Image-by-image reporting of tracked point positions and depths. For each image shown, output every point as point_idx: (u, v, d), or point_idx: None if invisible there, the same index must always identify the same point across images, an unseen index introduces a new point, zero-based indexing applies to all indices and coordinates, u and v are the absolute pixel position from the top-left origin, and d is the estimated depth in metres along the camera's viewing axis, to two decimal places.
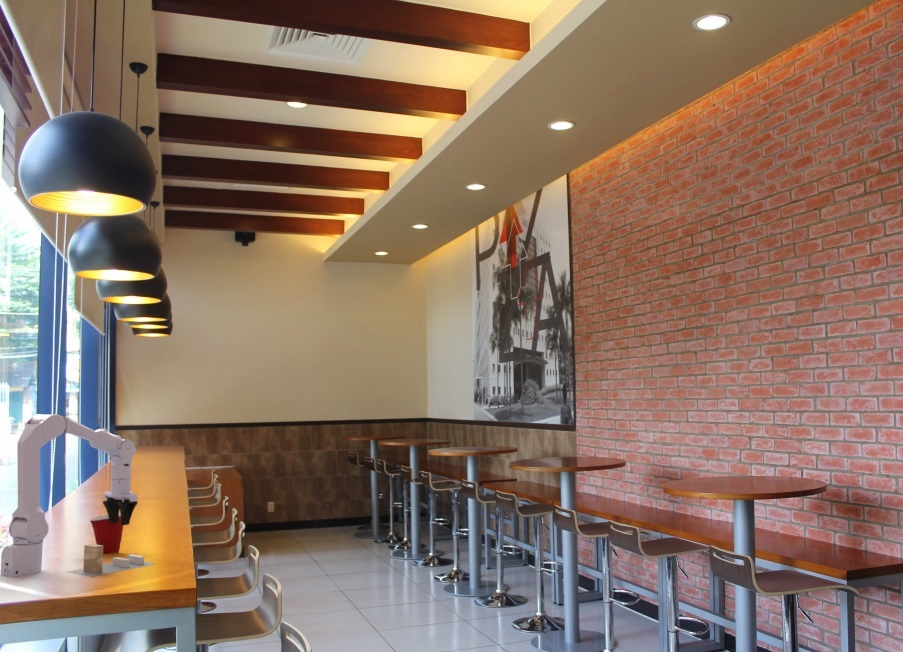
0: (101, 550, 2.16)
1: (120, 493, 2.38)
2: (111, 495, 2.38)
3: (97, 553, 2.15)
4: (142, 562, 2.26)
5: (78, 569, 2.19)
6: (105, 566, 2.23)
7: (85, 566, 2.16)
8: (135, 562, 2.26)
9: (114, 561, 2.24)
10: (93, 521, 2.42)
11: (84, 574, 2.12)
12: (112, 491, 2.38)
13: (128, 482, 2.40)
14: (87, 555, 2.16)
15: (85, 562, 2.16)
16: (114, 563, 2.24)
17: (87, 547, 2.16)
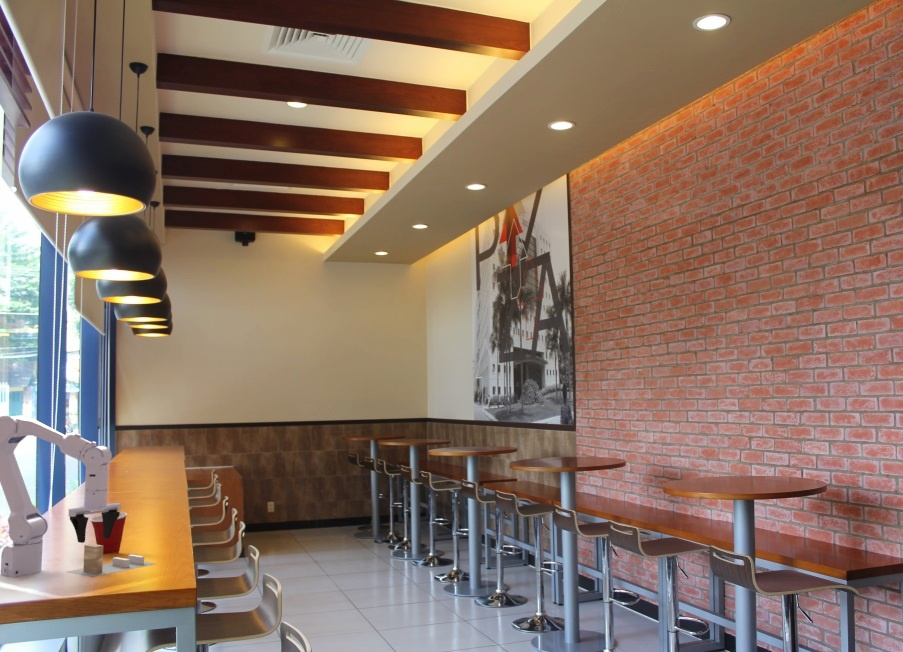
0: (101, 550, 2.16)
1: (84, 505, 2.17)
2: None
3: (97, 553, 2.15)
4: (142, 562, 2.26)
5: (78, 569, 2.19)
6: (105, 566, 2.23)
7: (85, 566, 2.16)
8: (135, 562, 2.26)
9: (114, 561, 2.24)
10: (94, 522, 2.41)
11: (84, 574, 2.12)
12: None
13: (88, 495, 2.15)
14: (87, 555, 2.16)
15: (85, 562, 2.16)
16: (114, 563, 2.24)
17: (87, 547, 2.16)
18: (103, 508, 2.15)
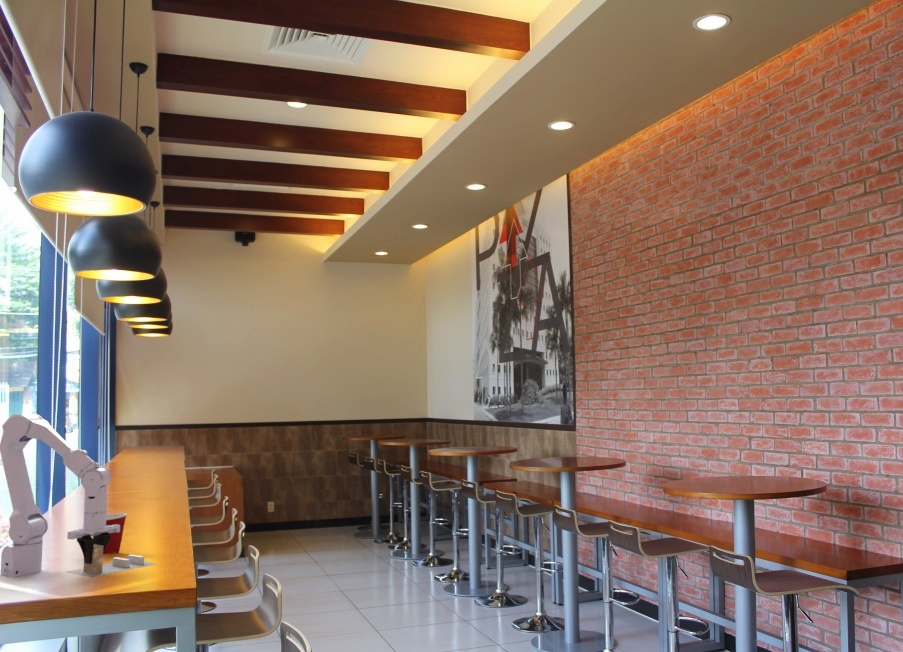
0: (101, 550, 2.16)
1: (83, 528, 2.16)
2: None
3: (97, 553, 2.15)
4: (142, 562, 2.26)
5: (78, 569, 2.19)
6: (105, 566, 2.23)
7: (85, 566, 2.16)
8: (135, 562, 2.26)
9: (114, 561, 2.24)
10: None
11: (84, 574, 2.12)
12: None
13: (87, 517, 2.15)
14: None
15: None
16: (114, 563, 2.24)
17: None
18: (102, 530, 2.15)
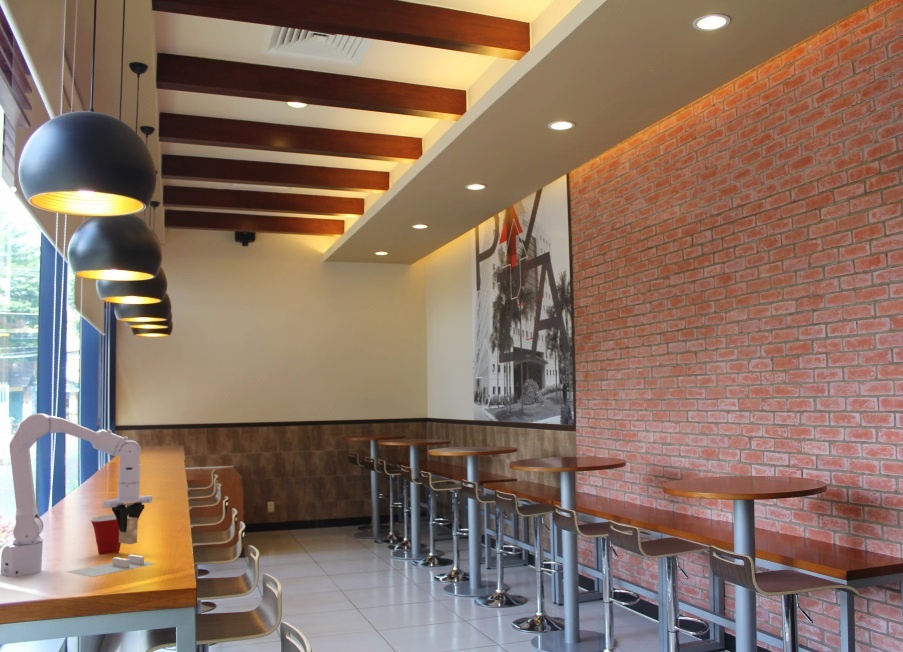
0: (136, 522, 2.25)
1: None
2: None
3: (132, 525, 2.24)
4: (142, 562, 2.26)
5: (78, 569, 2.19)
6: (105, 566, 2.23)
7: (120, 538, 2.25)
8: (135, 562, 2.26)
9: (114, 561, 2.24)
10: (93, 522, 2.42)
11: (84, 574, 2.12)
12: None
13: (122, 487, 2.24)
14: None
15: (120, 534, 2.25)
16: (114, 563, 2.24)
17: None
18: (136, 500, 2.24)
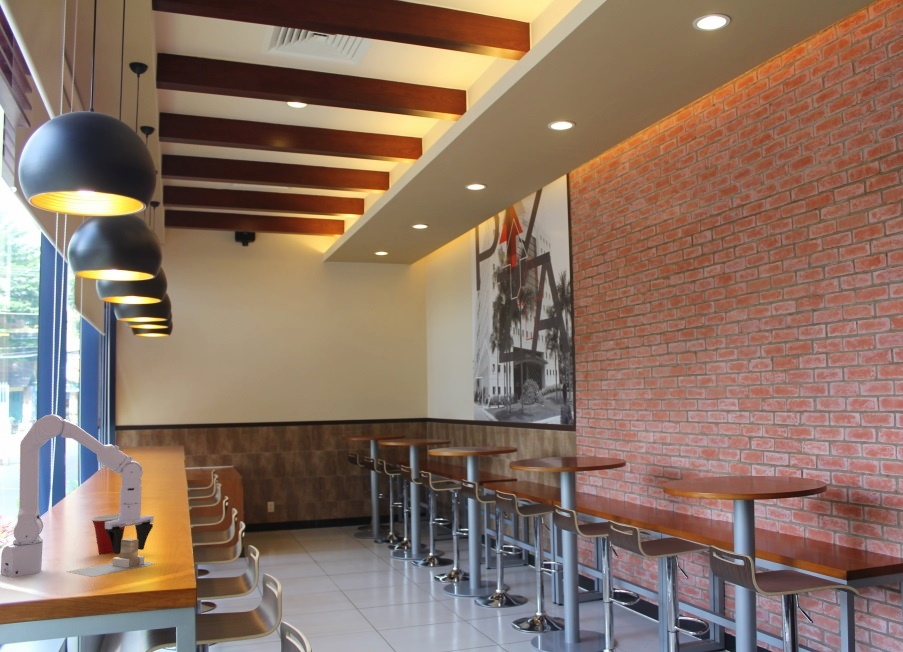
0: (136, 544, 2.25)
1: (119, 518, 2.25)
2: None
3: (133, 547, 2.24)
4: (142, 562, 2.26)
5: (78, 569, 2.19)
6: (105, 566, 2.23)
7: None
8: None
9: (114, 561, 2.24)
10: (94, 521, 2.42)
11: (84, 574, 2.12)
12: None
13: (123, 508, 2.24)
14: (123, 548, 2.25)
15: (121, 555, 2.25)
16: (114, 563, 2.24)
17: (123, 541, 2.25)
18: (137, 521, 2.24)
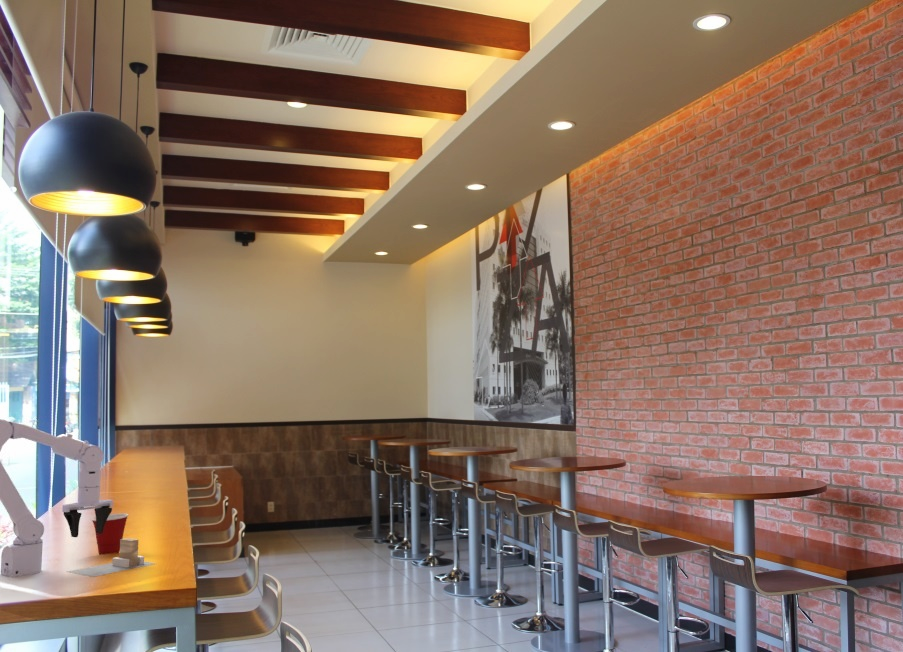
0: (136, 544, 2.25)
1: None
2: None
3: (133, 547, 2.24)
4: (142, 562, 2.26)
5: (78, 569, 2.19)
6: (105, 566, 2.23)
7: None
8: None
9: (114, 561, 2.24)
10: (94, 521, 2.42)
11: (84, 574, 2.12)
12: None
13: (82, 491, 2.24)
14: (123, 548, 2.25)
15: (121, 555, 2.25)
16: (114, 563, 2.24)
17: (123, 541, 2.25)
18: (96, 504, 2.24)
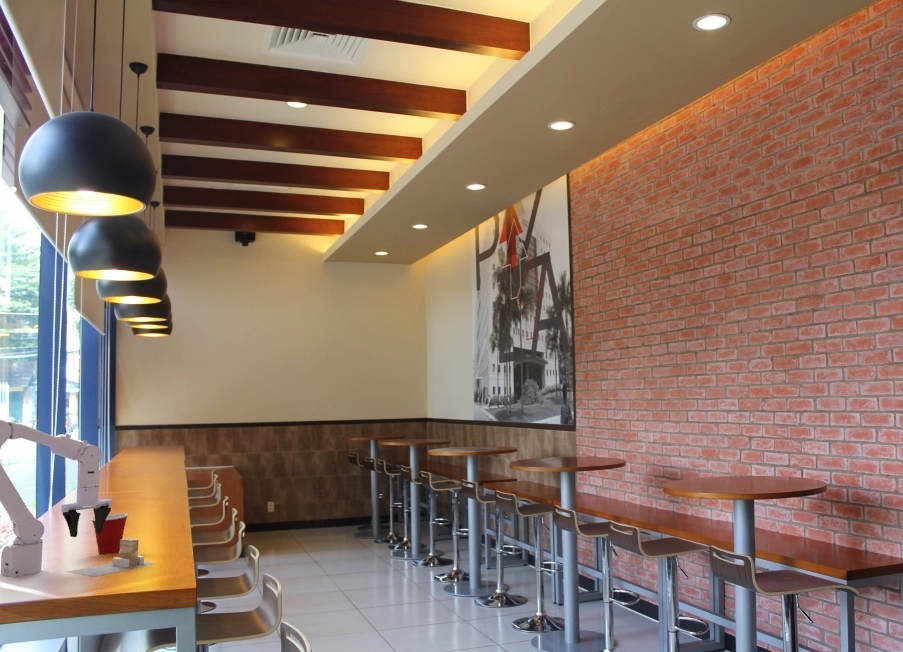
0: (136, 544, 2.25)
1: None
2: None
3: (133, 547, 2.24)
4: (142, 562, 2.26)
5: (78, 569, 2.19)
6: (105, 566, 2.23)
7: None
8: None
9: (114, 561, 2.24)
10: (94, 521, 2.42)
11: (84, 574, 2.12)
12: None
13: (81, 491, 2.24)
14: (123, 548, 2.25)
15: (121, 555, 2.25)
16: (114, 563, 2.24)
17: (123, 541, 2.25)
18: (95, 504, 2.24)
